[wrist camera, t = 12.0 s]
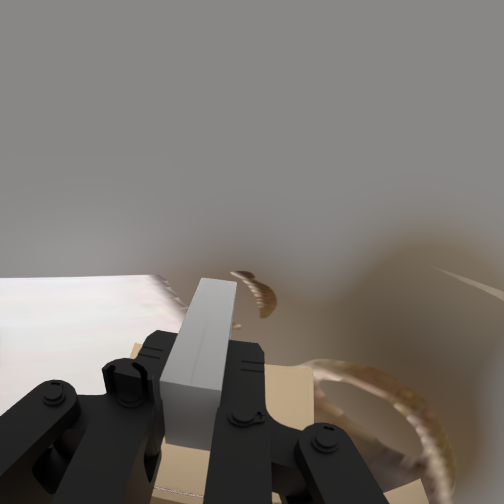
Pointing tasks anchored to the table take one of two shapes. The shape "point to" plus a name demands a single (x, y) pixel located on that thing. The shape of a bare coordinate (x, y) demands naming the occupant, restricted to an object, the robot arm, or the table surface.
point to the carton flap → (278, 405)
